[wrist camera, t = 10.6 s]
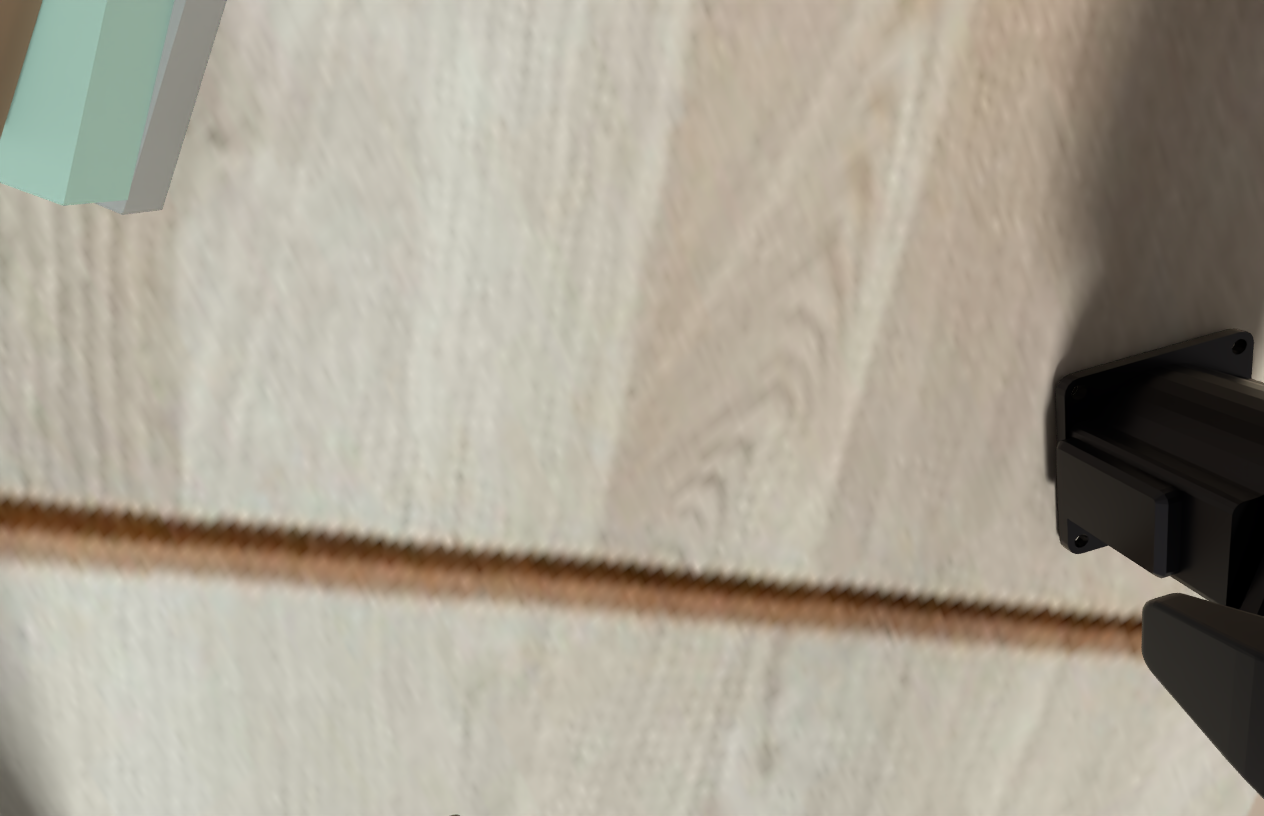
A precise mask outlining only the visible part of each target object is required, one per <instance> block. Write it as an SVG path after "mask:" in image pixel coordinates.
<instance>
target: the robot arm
mask: <svg viewBox="0 0 1264 816" xmlns="http://www.w3.org/2000/svg"><path fill="white" fill-rule="evenodd" d="M1234 343H1235V344H1234ZM1233 345H1234V346H1233ZM1232 347H1233V348H1232ZM1253 348H1254V340H1253V336H1252V335H1251V334H1250V333H1248V332H1246V331H1242V330H1237V329H1228V330H1224V331H1221V332H1217V333H1214V334H1210V335H1206V336H1203V337H1199V338H1196V339H1192V340H1189V341H1185V342H1182V343H1178V344H1175V345H1171V346H1168V347H1164V348H1161V349H1157V350H1154V351H1150V352H1147V353H1143V354H1139V355H1136V356H1132V357H1129V358H1125V359H1122V360H1118V361H1115V362H1111V363H1108V364H1104V365H1101V366H1097V367H1094V368H1090V369H1087V370H1083V371H1080V372H1076V373H1072V374H1069V375H1067V376H1065V377H1064V378H1063V379H1062V380H1061V381H1060V382H1059V383H1058V385H1057V387H1056V427H1057V449H1056V459H1057V494H1058V512H1059V534H1060V543H1061V544H1062V545H1063V546H1064V547H1065V548H1066V549H1068V550H1069V551H1070V552H1072V553H1075V554H1081V553H1085V552H1088V551H1091V550H1095V549H1098V548H1101V547H1105V546H1108V545H1109V546H1110V547H1112V548H1113V549H1115V550H1117V551H1118V552H1120V553H1121V554H1123V555H1124V556H1126V557H1127V558H1129V559H1130V560H1132V561H1133V562H1135V563H1136V564H1138V565H1140V566H1141V567H1143V568H1144V569H1146V570H1147V571H1149V572H1150V573H1152V574H1154V575H1155V576H1157V577H1159V578H1164V577H1167V576H1171V577H1172V578H1174V579H1176V580H1177V581H1179V582H1180V583H1182V584H1183V585H1185V586H1187V587H1188V588H1190V589H1191V590H1193V591H1194V592H1196V593H1198V594H1199V595H1201V596H1202V597H1204V598H1205V599H1207V600H1209V601H1207V600H1203V599H1200V598H1196V597H1193V596H1189V595H1186V594H1182V593H1172V594H1168V595H1165V596H1162V597H1159V598H1155V599H1152V600H1149V601H1148V602H1146V603H1145V605H1144V607H1143V611H1142V654H1143V658H1144V660H1145V663H1146V665H1147V666H1148V668H1149V669H1150V671H1151V672H1152V673H1153V674H1154V676H1155V677H1156V678H1157V679H1158V680H1159V681H1160V683H1161V684H1162V685H1163V686H1164V687H1165V688H1166V690H1167V691H1168V692H1169V693H1170V694H1171V695H1172V697H1173V698H1174V699H1175V700H1176V701H1177V702H1178V704H1179V705H1180V706H1181V707H1182V708H1183V709H1184V710H1185V712H1186V713H1187V714H1188V715H1189V716H1190V717H1191V719H1192V720H1193V721H1194V722H1195V723H1196V724H1197V726H1198V727H1199V728H1200V729H1201V730H1202V731H1203V733H1204V734H1205V735H1206V736H1207V737H1208V738H1209V740H1210V741H1211V742H1212V743H1213V744H1214V745H1215V747H1216V748H1217V749H1218V750H1219V751H1220V752H1221V754H1222V755H1223V756H1224V757H1225V758H1226V759H1227V760H1228V762H1229V763H1230V764H1231V765H1232V766H1233V767H1234V768H1235V769H1236V770H1237V771H1238V773H1239V774H1240V775H1241V776H1242V777H1243V778H1244V779H1245V780H1246V781H1247V782H1248V783H1249V784H1250V785H1251V786H1252V787H1253V788H1254V789H1255V790H1256V791H1257V792H1258V793H1259V795H1260V796H1262V798H1263V799H1264V383H1263V382H1260V381H1256V380H1253V379H1251V375H1252V361H1253ZM1076 386H1078V387H1077V391H1076V392H1075V394H1073V395H1072V391H1073V389H1074V388H1075V387H1076ZM1078 536H1079V538H1078V539H1077V540H1075V539H1076V538H1077V537H1078ZM451 816H460V815H451Z"/></svg>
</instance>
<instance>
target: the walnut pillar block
mask: <svg viewBox="0 0 1264 816" xmlns="http://www.w3.org/2000/svg"><path fill="white" fill-rule="evenodd" d="M42 1H43V0H0V139H1V135H2V132H3V129H4V125H5V122H6V119H7V116H8V112H9V109H10V106H11V102H12V99H13V96H14V93H15V89H16V86H17V83H18V79H19V76H20V73H21V70H22V66H23V63H24V60H25V56H26V53H27V50H28V47H29V43H30V40H31V37H32V33H33V30H34V27H35V24H36V20H37V17H38V14H39V10H40V7H41V4H42Z"/></svg>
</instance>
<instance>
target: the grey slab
mask: <svg viewBox="0 0 1264 816" xmlns="http://www.w3.org/2000/svg"><path fill="white" fill-rule="evenodd" d="M226 1H227V0H174V4H173V9H172V13H171V17H170V21H169V26H168V30H167V34H166V38H165V43H164V47H163V51H162V55H161V60H160V64H159V68H158V72H157V77H156V81H155V85H154V89H153V94H152V98H151V102H150V106H149V111H148V115H147V119H146V123H145V128H144V132H143V136H142V140H141V145H140V149H139V153H138V157H137V162H136V166H135V170H134V174H133V179H132V183H131V187H130V192H129V196H128V200H121V201H110V202H98V203H95V204H98V205H100V206H102V207H105V208H107V209H110V210H112V211H114V212H117V213H119V214H122V215H125V214H133V213H141V212H149V211H157V210H162V209H163V206H164V202H165V199H166V196H167V193H168V189H169V186H170V183H171V180H172V176H173V173H174V170H175V167H176V163H177V160H178V157H179V154H180V150H181V147H182V144H183V141H184V137H185V134H186V131H187V128H188V124H189V121H190V118H191V115H192V111H193V108H194V105H195V102H196V98H197V95H198V92H199V89H200V85H201V82H202V79H203V76H204V72H205V69H206V66H207V63H208V59H209V56H210V53H211V50H212V46H213V43H214V40H215V37H216V33H217V30H218V27H219V24H220V20H221V17H222V14H223V11H224V7H225V4H226Z"/></svg>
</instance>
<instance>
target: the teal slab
mask: <svg viewBox="0 0 1264 816" xmlns="http://www.w3.org/2000/svg"><path fill="white" fill-rule="evenodd" d="M173 4H174V0H43V1H42V4H41V7H40V10H39V14H38V17H37V20H36V24H35V27H34V30H33V33H32V37H31V40H30V43H29V47H28V50H27V53H26V56H25V60H24V63H23V66H22V70H21V73H20V76H19V79H18V83H17V86H16V89H15V93H14V96H13V99H12V102H11V106H10V109H9V112H8V116H7V119H6V122H5V125H4V129H3V132H2V135H1V139H0V183H2V184H5V185H8V186H11V187H13V188H16V189H19V190H22V191H24V192H27V193H30V194H33V195H35V196H38V197H41V198H44V199H46V200H49V201H52V202H54V203H57V204H60V205H63V206H65V205H76V204H87V203H98V202H110V201H121V200H128V196H129V192H130V187H131V183H132V179H133V174H134V170H135V166H136V162H137V157H138V153H139V149H140V145H141V140H142V136H143V132H144V128H145V123H146V119H147V115H148V111H149V106H150V102H151V98H152V94H153V89H154V85H155V81H156V77H157V72H158V68H159V64H160V60H161V55H162V51H163V47H164V43H165V38H166V34H167V30H168V26H169V21H170V17H171V13H172V9H173Z"/></svg>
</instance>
